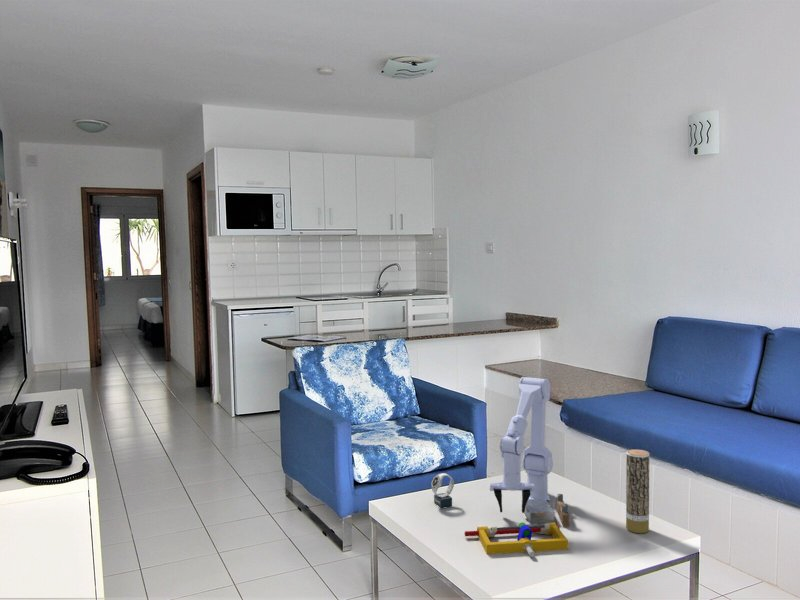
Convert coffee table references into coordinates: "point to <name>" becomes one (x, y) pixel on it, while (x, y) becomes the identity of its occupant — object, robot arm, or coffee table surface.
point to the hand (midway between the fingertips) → (512, 511)
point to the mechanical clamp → (521, 539)
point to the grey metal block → (539, 512)
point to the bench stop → (562, 510)
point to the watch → (442, 498)
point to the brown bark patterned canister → (637, 491)
